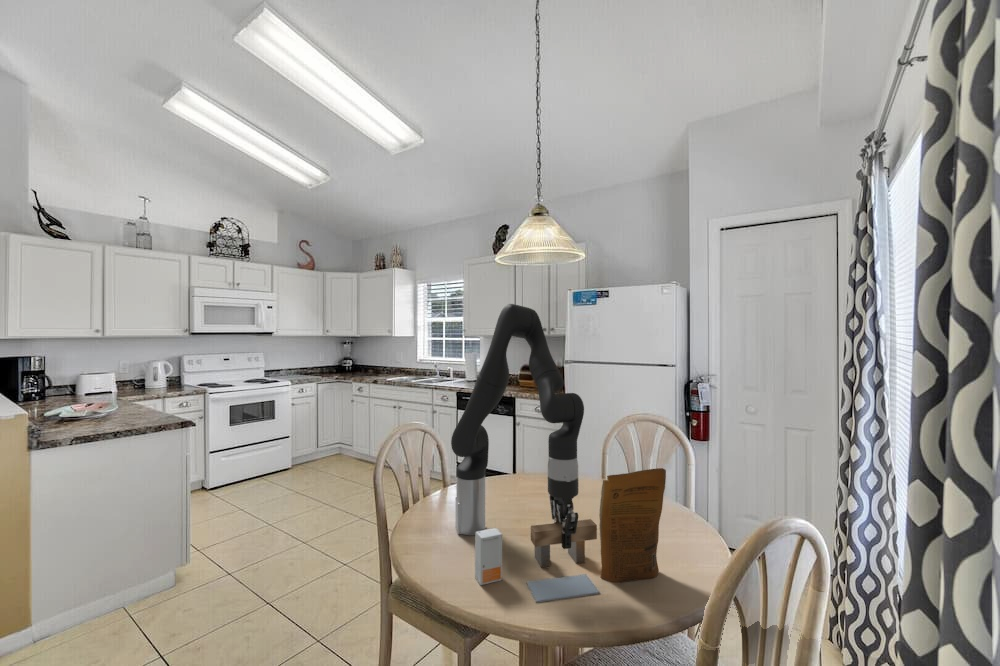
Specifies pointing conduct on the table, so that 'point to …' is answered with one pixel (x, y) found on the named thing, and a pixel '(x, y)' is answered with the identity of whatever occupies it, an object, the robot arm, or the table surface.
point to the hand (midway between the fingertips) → (563, 543)
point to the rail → (553, 533)
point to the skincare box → (488, 556)
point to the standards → (575, 552)
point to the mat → (562, 588)
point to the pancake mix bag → (631, 524)
